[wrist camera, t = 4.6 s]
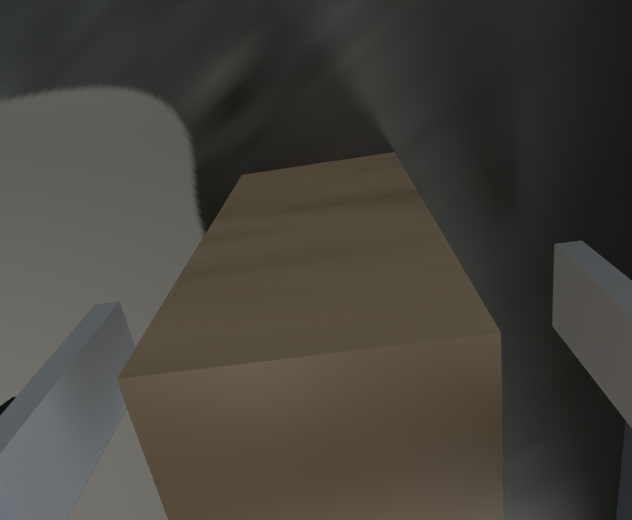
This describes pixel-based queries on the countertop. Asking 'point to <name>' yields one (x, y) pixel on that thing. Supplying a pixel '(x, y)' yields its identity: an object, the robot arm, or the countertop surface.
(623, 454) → the panel
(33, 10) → the countertop surface
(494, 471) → the oak block
